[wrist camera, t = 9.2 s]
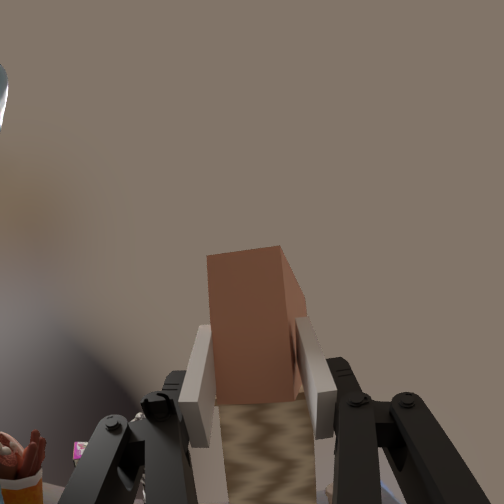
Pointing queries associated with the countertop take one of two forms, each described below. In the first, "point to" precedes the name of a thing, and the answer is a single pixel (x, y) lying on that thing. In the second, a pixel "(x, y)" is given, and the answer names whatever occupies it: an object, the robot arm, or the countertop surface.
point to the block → (254, 326)
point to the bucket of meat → (21, 469)
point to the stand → (268, 452)
